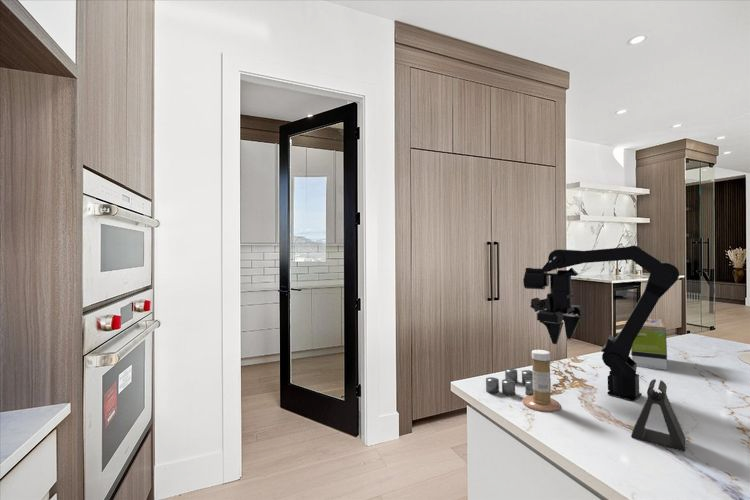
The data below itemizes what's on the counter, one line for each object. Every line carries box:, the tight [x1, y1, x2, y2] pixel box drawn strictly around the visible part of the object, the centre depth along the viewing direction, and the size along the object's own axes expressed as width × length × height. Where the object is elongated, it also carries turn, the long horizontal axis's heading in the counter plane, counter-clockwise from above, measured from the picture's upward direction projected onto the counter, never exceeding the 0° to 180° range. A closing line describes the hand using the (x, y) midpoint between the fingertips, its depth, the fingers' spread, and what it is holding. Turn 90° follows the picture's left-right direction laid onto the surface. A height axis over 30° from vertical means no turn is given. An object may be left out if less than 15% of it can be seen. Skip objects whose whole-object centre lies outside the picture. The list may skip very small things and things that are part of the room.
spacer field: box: [485, 368, 533, 397], centre depth 108 cm, size 13×17×4 cm
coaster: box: [522, 395, 561, 413], centre depth 97 cm, size 9×9×1 cm
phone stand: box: [630, 378, 687, 452], centre depth 79 cm, size 9×6×12 cm, turn 48°
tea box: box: [630, 317, 668, 371], centre depth 130 cm, size 15×10×15 cm, turn 144°
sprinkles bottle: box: [531, 349, 552, 405], centre depth 97 cm, size 5×5×14 cm
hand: (561, 341), depth 111 cm, fingers open, 9 cm apart
